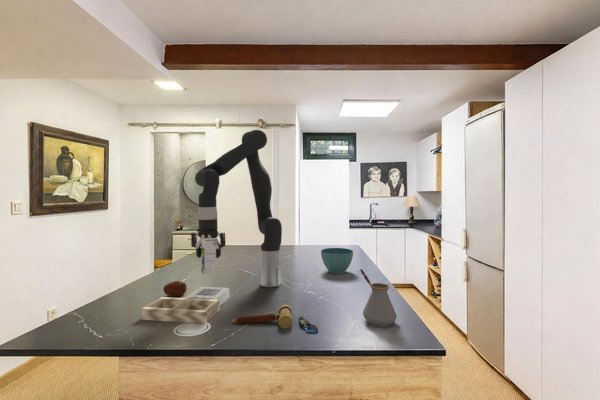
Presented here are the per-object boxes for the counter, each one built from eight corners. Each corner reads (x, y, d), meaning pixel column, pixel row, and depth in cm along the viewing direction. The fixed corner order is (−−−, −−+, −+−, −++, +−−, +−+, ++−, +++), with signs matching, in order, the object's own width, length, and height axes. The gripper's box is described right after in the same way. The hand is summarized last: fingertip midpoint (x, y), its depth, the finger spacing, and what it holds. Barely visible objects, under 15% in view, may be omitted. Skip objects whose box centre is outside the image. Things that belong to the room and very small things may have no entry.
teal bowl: (355, 276, 162) (355, 253, 161) (321, 276, 162) (321, 253, 162) (350, 268, 180) (350, 247, 180) (320, 268, 180) (320, 247, 180)
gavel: (228, 321, 99) (233, 309, 109) (229, 334, 99) (234, 321, 109) (291, 315, 100) (290, 303, 110) (292, 328, 101) (291, 316, 111)
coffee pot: (403, 327, 101) (403, 283, 100) (372, 331, 98) (372, 285, 98) (373, 304, 121) (373, 267, 121) (346, 307, 119) (346, 269, 118)
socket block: (229, 297, 130) (229, 287, 130) (217, 308, 117) (217, 298, 117) (201, 295, 132) (201, 286, 132) (186, 306, 119) (185, 296, 119)
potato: (181, 298, 128) (181, 283, 128) (160, 298, 129) (160, 283, 129) (188, 293, 135) (188, 279, 135) (168, 293, 136) (168, 278, 136)
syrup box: (200, 271, 126) (200, 236, 125) (215, 269, 128) (214, 235, 128) (202, 274, 121) (201, 238, 120) (217, 272, 123) (216, 237, 123)
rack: (219, 310, 116) (219, 299, 116) (205, 323, 104) (205, 312, 104) (161, 306, 119) (161, 296, 119) (141, 319, 107) (141, 308, 107)
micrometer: (319, 329, 97) (303, 330, 96) (319, 335, 97) (303, 336, 96) (310, 313, 108) (296, 315, 107) (310, 318, 109) (296, 320, 108)
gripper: (227, 217, 127) (228, 255, 127) (195, 217, 128) (196, 255, 129) (220, 218, 119) (221, 259, 120) (187, 218, 121) (187, 259, 122)
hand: (208, 257), depth 124 cm, fingers closed on syrup box, 7 cm apart
